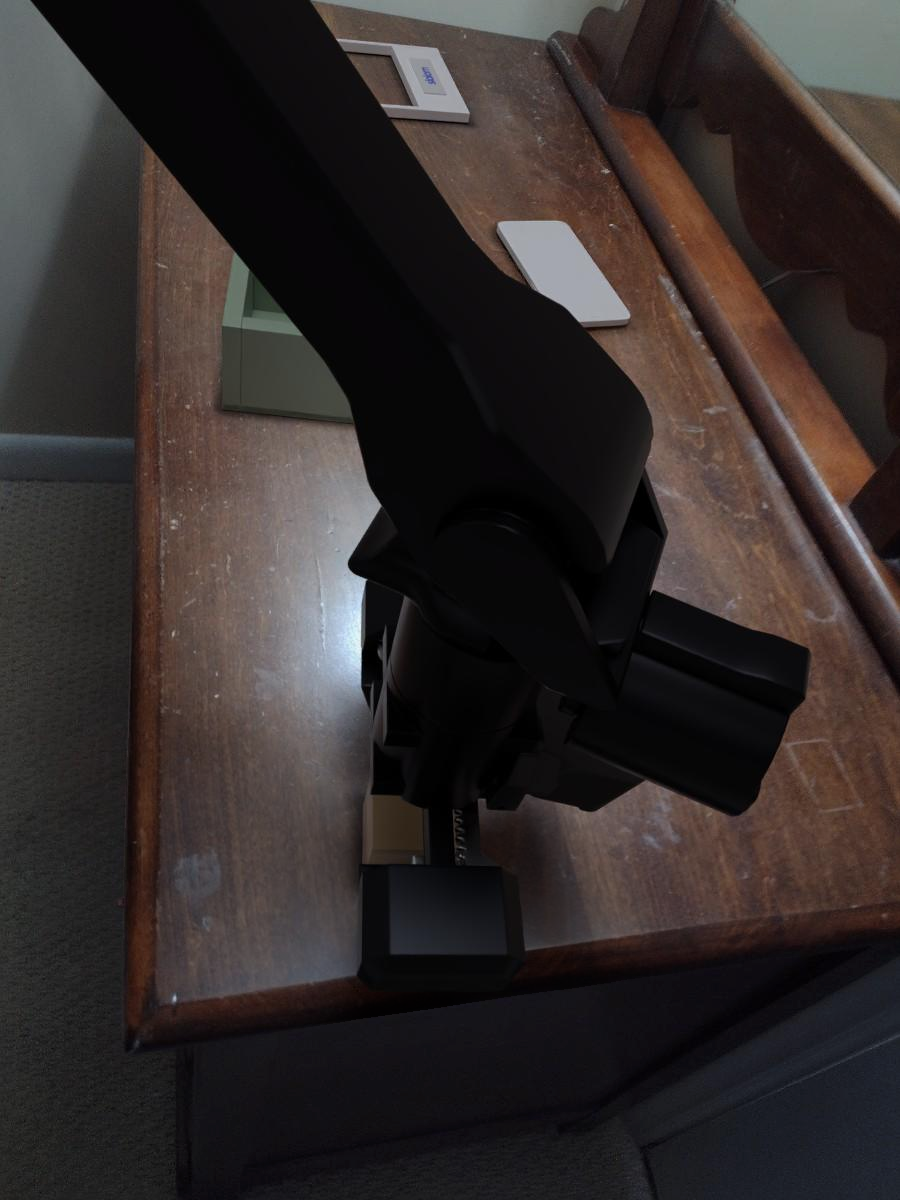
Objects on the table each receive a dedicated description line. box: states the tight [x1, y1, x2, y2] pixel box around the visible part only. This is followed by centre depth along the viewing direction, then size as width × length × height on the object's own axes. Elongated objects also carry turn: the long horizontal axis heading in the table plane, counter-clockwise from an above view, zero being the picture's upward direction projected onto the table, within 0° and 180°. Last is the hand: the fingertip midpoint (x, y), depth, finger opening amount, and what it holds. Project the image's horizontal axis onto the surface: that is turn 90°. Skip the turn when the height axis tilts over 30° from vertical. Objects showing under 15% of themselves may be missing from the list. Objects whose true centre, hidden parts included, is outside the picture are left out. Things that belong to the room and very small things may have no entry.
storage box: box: [221, 251, 354, 424], centre depth 66 cm, size 16×12×8 cm
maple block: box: [361, 780, 457, 864], centre depth 45 cm, size 4×4×4 cm
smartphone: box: [496, 220, 631, 328], centre depth 81 cm, size 7×1×15 cm
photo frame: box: [335, 37, 471, 123], centre depth 97 cm, size 15×1×18 cm
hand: (404, 834), depth 46 cm, fingers open, 7 cm apart
